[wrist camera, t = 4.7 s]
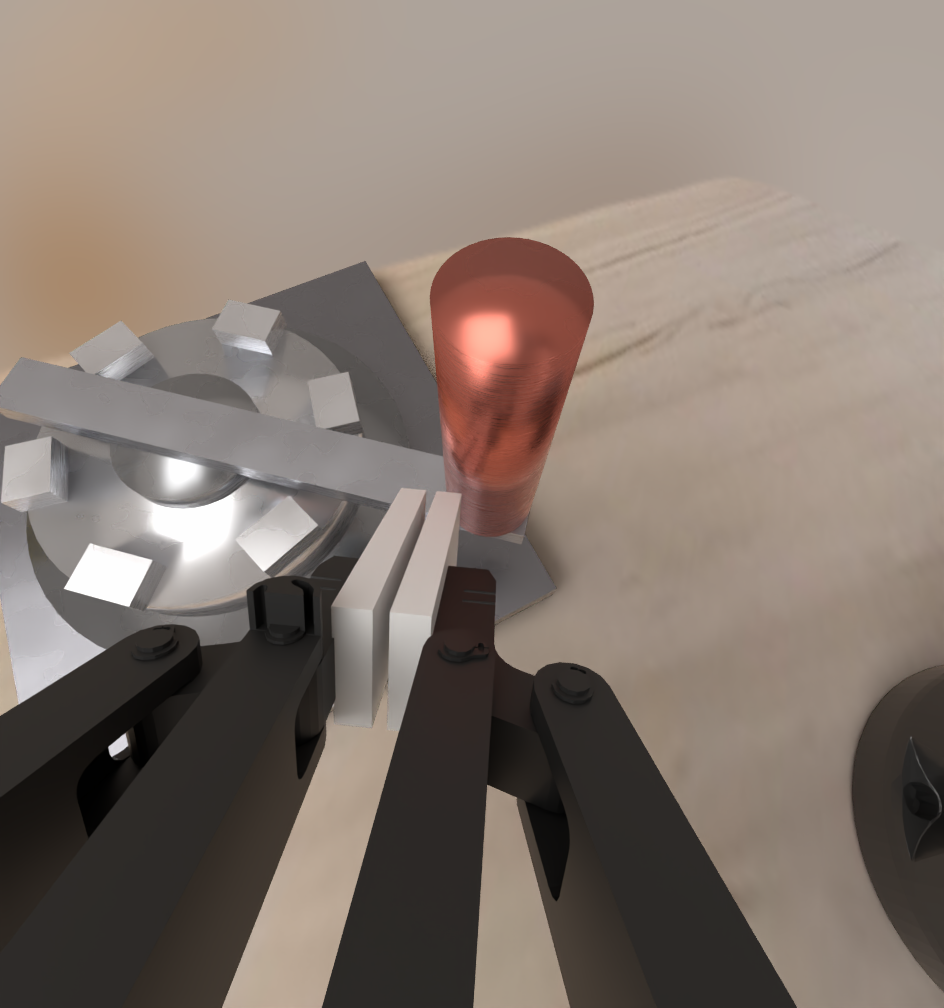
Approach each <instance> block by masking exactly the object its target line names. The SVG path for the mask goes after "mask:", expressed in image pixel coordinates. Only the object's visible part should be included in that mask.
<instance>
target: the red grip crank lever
mask: <svg viewBox="0 0 944 1008" xmlns="http://www.w3.org/2000/svg"><path fill="white" fill-rule="evenodd" d="M430 306H431V318H432V330H433V341H434V353H435V365H436V377H437V388H438V400H439V412H440V424H441V435H442V447H443V456H439V455H434V454H430V453H426V452H422V451H417V450H413V449H409V448H405V447H400V446H396V445H392V444H388V443H383V442H379V441H375V440H371V439H366V435H365V432H364V429H363V426H362V423H361V419H360V414H359V410H358V405H357V401H356V397H355V392H354V388H353V384H352V381H351V378H350V375H349V372H345V373H340V372H339V371H338V369H337V368H336V366H335V365H334V364H333V363H332V362H331V361H330V360H329V358H328V357H327V356H326V355H325V354H324V353H323V352H322V351H320V350H319V349H318V348H316V347H315V346H314V345H313V344H311V343H310V342H308V341H307V340H305V339H303V338H302V337H300V336H298V335H296V334H295V333H292V332H290V331H287V330H285V329H286V327H287V324H286V322H285V320H284V318H283V316H282V313H281V311H279V310H274V309H270V308H265V307H260V306H256V305H251V304H247V303H242V302H237V301H233V300H228V301H227V303H226V305H225V307H224V308H223V310H222V312H221V314H220V315H219V317H218V318H216V319H202V320H195V321H189V322H184V323H180V324H176V325H172V326H168V327H164V328H162V329H159V330H156V331H153V332H150V333H147V334H145V335H143V336H141V337H139V338H137V337H136V336H135V335H134V334H133V332H132V331H131V330H130V329H129V328H128V327H127V326H126V325H125V324H124V323H123V322H122V321H120V322H118V323H116V324H115V325H113V326H112V327H110V328H108V329H107V330H106V331H104V332H102V333H100V334H99V335H97V336H96V337H94V338H92V339H91V340H89V341H88V342H86V343H84V344H83V345H81V346H80V347H78V348H76V349H75V350H73V351H72V352H70V353H69V354H70V355H71V356H72V357H73V358H74V359H75V361H76V362H77V363H78V364H79V365H80V366H81V367H82V368H83V369H84V371H85V372H82V371H78V370H74V369H69V368H65V367H61V366H57V365H52V364H48V363H44V362H40V361H35V360H31V359H27V358H23V357H21V358H20V359H19V361H18V362H17V363H16V365H15V366H14V367H13V369H12V370H11V371H10V373H9V374H8V376H7V377H6V378H5V380H4V381H3V382H2V384H1V385H0V413H1V414H3V415H4V416H6V417H7V418H11V419H15V420H19V421H23V422H27V423H31V424H35V425H39V426H42V427H41V429H40V432H39V434H38V436H37V439H36V440H31V441H27V442H22V443H18V444H13V445H8V446H5V454H4V468H3V482H2V496H1V503H3V504H5V505H7V506H9V507H11V508H14V509H16V510H18V511H20V512H24V511H28V515H29V520H30V523H31V526H32V528H33V531H34V534H35V536H36V539H37V541H38V542H39V544H40V545H41V547H42V549H43V550H44V552H45V554H46V555H47V557H48V558H49V559H50V560H51V561H52V562H53V563H54V564H55V566H56V567H57V568H58V569H59V570H60V571H61V572H63V573H64V574H65V575H66V576H68V577H69V578H70V579H69V581H68V583H67V584H66V586H65V588H64V589H67V590H70V591H73V592H76V593H80V594H83V595H87V596H90V597H94V598H97V599H101V600H105V601H108V602H112V603H116V604H119V605H123V606H126V607H130V608H134V609H137V610H141V611H145V610H146V611H150V612H154V613H159V614H164V615H169V616H181V617H201V616H214V615H219V614H224V613H229V612H234V611H238V610H241V609H244V608H247V607H248V605H247V594H246V590H247V589H249V588H250V587H251V586H253V585H254V584H255V583H258V582H260V581H263V580H265V579H268V578H273V577H278V576H301V577H305V576H306V575H308V574H309V573H310V572H312V571H313V570H314V569H315V568H316V567H317V566H318V565H319V564H320V563H321V562H322V561H323V560H324V559H325V558H326V557H327V556H328V555H329V554H330V553H331V552H332V550H333V549H334V548H335V547H336V545H337V544H338V543H339V542H340V540H341V539H342V538H343V536H344V534H345V533H346V531H347V529H348V528H349V526H350V525H351V523H352V521H353V519H354V517H355V515H356V512H357V510H358V508H359V506H360V505H363V506H367V507H371V508H375V509H379V510H383V511H388V509H389V508H390V506H391V504H392V503H393V501H394V499H395V498H396V496H397V494H398V493H399V491H400V489H401V488H408V489H419V490H426V508H425V520H426V517H427V515H428V512H429V509H430V507H431V504H432V502H433V499H434V497H435V494H436V491H441V492H451V493H462V497H461V511H460V524H459V529H460V530H464V531H468V532H470V533H472V534H475V535H478V536H483V537H492V538H497V539H501V540H505V541H509V542H513V543H517V544H522V541H523V538H524V534H525V530H526V526H527V521H528V517H529V513H530V508H531V505H532V502H533V499H534V496H535V492H536V489H537V486H538V483H539V480H540V477H541V474H542V471H543V468H544V464H545V461H546V458H547V455H548V452H549V449H550V446H551V443H552V439H553V436H554V433H555V430H556V427H557V424H558V421H559V418H560V414H561V411H562V408H563V405H564V402H565V399H566V396H567V393H568V390H569V386H570V383H571V380H572V377H573V374H574V371H575V368H576V365H577V361H578V358H579V355H580V352H581V349H582V346H583V343H584V340H585V337H586V333H587V330H588V327H589V324H590V321H591V318H592V314H593V307H594V300H593V293H592V289H591V286H590V284H589V281H588V279H587V277H586V276H585V274H584V273H583V271H582V270H581V269H580V267H579V266H578V265H577V264H576V263H575V262H574V261H573V260H572V259H570V258H569V257H568V256H566V255H565V254H564V253H562V252H560V251H559V250H557V249H555V248H553V247H551V246H549V245H546V244H543V243H541V242H537V241H533V240H529V239H523V238H511V237H507V238H494V239H488V240H484V241H480V242H477V243H474V244H471V245H469V246H467V247H465V248H463V249H461V250H460V251H458V252H456V253H455V254H454V255H452V256H451V257H450V258H449V259H448V260H447V261H446V262H445V263H444V264H443V265H442V266H441V268H440V269H439V271H438V272H437V274H436V276H435V278H434V280H433V283H432V286H431V292H430Z"/></svg>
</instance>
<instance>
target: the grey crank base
mask: <svg viewBox="0 0 944 1008" xmlns="http://www.w3.org/2000/svg"><path fill="white" fill-rule="evenodd" d="M247 304H251V305H256V306H260V307H265V308H270V309H274V310H279V311H281V313H282V316H283V318H284V320H285V322H286V324H287V327H286V329H285V330H287V331H290V332H292V333H295V334H296V335H298V336H300V337H302V338H303V339H305V340H307V341H308V342H310V343H311V344H313V345H314V346H315V347H316V348H318V349H319V350H320V351H322V352H323V353H324V354H325V355H326V356H327V357H328V358H329V360H330V361H331V362H332V363H333V364H334V365H335V366H336V368H337V369H338V371H339V372H340V373H345V372H349V375H350V378H351V381H352V384H353V388H354V392H355V397H356V401H357V405H358V410H359V414H360V419H361V423H362V426H363V429H364V432H365V435H366V439H371V440H375V441H379V442H383V443H388V444H392V445H396V446H400V447H405V448H409V449H413V450H417V451H422V452H426V453H430V454H434V455H439V456H443V447H442V435H441V424H440V412H439V400H438V388H437V383H436V381H435V379H434V378H433V376H432V374H431V373H430V371H429V369H428V367H427V366H426V364H425V362H424V361H423V359H422V357H421V355H420V354H419V352H418V350H417V349H416V347H415V345H414V343H413V342H412V340H411V338H410V337H409V335H408V333H407V332H406V330H405V328H404V326H403V325H402V323H401V321H400V320H399V318H398V316H397V314H396V313H395V311H394V309H393V308H392V306H391V304H390V302H389V301H388V299H387V297H386V296H385V294H384V292H383V291H382V289H381V287H380V285H379V284H378V282H377V280H376V279H375V277H374V275H373V273H372V272H371V270H370V268H369V267H368V265H367V263H366V261H364V262H361V263H359V264H356V265H353V266H350V267H347V268H345V269H342V270H339V271H336V272H334V273H331V274H328V275H325V276H322V277H320V278H317V279H314V280H311V281H308V282H306V283H303V284H300V285H297V286H295V287H292V288H289V289H286V290H283V291H281V292H278V293H275V294H272V295H270V296H267V297H264V298H261V299H258V300H256V301H253V302H250V303H247ZM220 314H221V313H220ZM220 314H217V315H214V316H211V317H208V318H206V319H216V318H218V317H219V315H220ZM69 369H74V370H78V371H82V372H85V371H84V369H83V368H82V367H81V366H80V365H79V364H78V365H75V366H72V367H69ZM41 427H42V426H39V425H35V424H31V423H27V422H23V421H19V420H15V419H11V418H7V417H6V416H4V415H3V414H1V413H0V599H1V605H2V611H3V616H4V622H5V628H6V634H7V640H8V645H9V651H10V657H11V663H12V668H13V674H14V680H15V686H16V691H17V697H18V703H19V704H20V703H22V702H23V701H25V700H27V699H28V698H30V697H31V696H33V695H35V694H36V693H38V692H39V691H41V690H43V689H44V688H46V687H47V686H49V685H51V684H52V683H54V682H55V681H57V680H59V679H60V678H62V677H63V676H65V675H66V674H68V673H70V672H71V671H73V670H74V669H76V668H78V667H79V666H81V665H82V664H84V663H86V662H87V661H89V660H90V659H92V658H94V657H95V656H97V655H98V654H100V653H102V652H103V651H105V650H106V649H108V648H110V647H111V646H113V645H114V644H116V643H117V642H119V641H121V640H122V639H124V638H125V637H128V636H130V635H132V634H134V633H136V632H138V631H140V630H143V629H147V628H150V627H153V626H157V625H165V624H176V625H185V626H188V627H190V628H192V629H194V630H196V632H197V634H198V636H199V639H200V646H206V645H216V644H226V643H233V642H239V641H241V640H242V639H243V638H244V636H245V635H246V634H247V632H248V631H249V630H250V626H249V615H248V607H247V608H244V609H241V610H238V611H234V612H229V613H224V614H219V615H214V616H201V617H181V616H169V615H164V614H159V613H154V612H150V611H146V610H145V611H141V610H137V609H134V608H130V607H126V606H123V605H119V604H116V603H112V602H108V601H105V600H101V599H97V598H94V597H90V596H87V595H83V594H80V593H76V592H73V591H70V590H67V589H64V588H65V586H66V584H67V583H68V581H69V579H70V578H69V577H68V576H66V575H65V574H64V573H63V572H61V571H60V570H59V569H58V568H57V567H56V566H55V564H54V563H53V562H52V561H51V560H50V559H49V558H48V557H47V555H46V554H45V552H44V550H43V549H42V547H41V545H40V544H39V542H38V541H37V539H36V536H35V534H34V531H33V528H32V526H31V523H30V520H29V515H28V511H24V512H20V511H18V510H16V509H14V508H11V507H9V506H7V505H5V504H3V503H1V496H2V482H3V468H4V454H5V446H8V445H13V444H18V443H22V442H27V441H31V440H36V439H37V436H38V434H39V432H40V429H41ZM386 513H387V511H383V510H379V509H375V508H371V507H367V506H363V505H360V506H359V508H358V510H357V512H356V515H355V517H354V519H353V521H352V523H351V525H350V526H349V528H348V529H347V531H346V533H345V534H344V536H343V538H342V539H341V540H340V542H339V543H338V544H337V545H336V547H335V548H334V549H333V550H332V552H331V553H330V554H329V555H328V556H327V557H326V558H325V559H324V560H323V561H322V562H321V563H323V562H324V561H326V560H328V559H330V558H331V557H333V556H341V557H351V558H360V557H361V555H362V553H363V552H364V550H365V548H366V546H367V545H368V543H369V541H370V540H371V538H372V536H373V535H374V533H375V531H376V530H377V528H378V526H379V525H380V523H381V521H382V519H383V518H384V516H385V514H386ZM321 563H320V564H321ZM456 566H458V567H468V568H478V569H488V570H489V571H490V573H491V574H492V575H493V577H494V578H495V580H496V603H495V625H496V624H498V623H500V622H502V621H504V620H505V619H507V618H509V617H511V616H513V615H515V614H517V613H519V612H521V611H522V610H524V609H526V608H528V607H530V606H532V605H534V604H536V603H538V602H539V601H541V600H543V599H545V598H547V597H549V596H551V595H552V594H553V593H554V591H555V590H556V589H557V588H556V586H555V585H554V583H553V581H552V579H551V578H550V576H549V574H548V573H547V571H546V569H545V567H544V566H543V564H542V562H541V561H540V559H539V557H538V555H537V554H536V552H535V550H534V549H533V547H532V545H531V543H530V542H529V540H528V538H527V537H526V535H525V534H524V538H523V541H522V544H517V543H513V542H509V541H505V540H501V539H497V538H492V537H483V536H478V535H475V534H472V533H470V532H468V531H464V530H460V529H459V538H458V551H457V565H456ZM316 568H317V567H316ZM316 568H315V569H316ZM315 569H314V570H313V571H312V572H310V573H309V574H308V575H306V576H305V578H310V577H311V575H312V573H313V572H314V571H315ZM387 682H388V679H387ZM333 710H334V704H333V706H332V708H331V711H333ZM331 711H330V712H331ZM127 746H128V743H127V738H126V733H125V734H124V735H122V736H121V737H120V738H119V739H117V740H116V741H115V742H114V743H113V744H111V745H110V746H109V747H108V748H109V752H110V755H111V757H112V756H114V755H116V754H118V753H119V752H121V751H122V750H124V749H125V748H126V747H127Z"/></svg>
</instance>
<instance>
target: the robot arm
mask: <svg viewBox="0 0 944 1008" xmlns="http://www.w3.org/2000/svg"><path fill="white" fill-rule="evenodd" d="M461 497H462V493H451V492H441V491H436V494H435V497H434V499H433V502H432V504H431V507H430V509H429V512H428V515H427V517H426V520H425V508H426V490H419V489H408V488H401V489H400V491H399V493H398V494H397V496H396V498H395V499H394V501H393V503H392V504H391V506H390V508H389V509H388V511H387V513H386V514H385V516H384V518H383V519H382V521H381V523H380V525H379V526H378V528H377V530H376V531H375V533H374V535H373V536H372V538H371V540H370V541H369V543H368V545H367V546H366V548H365V550H364V552H363V553H362V555H361V557H360V558H351V557H341V556H333V557H331V558H330V559H328V560H326V561H324V562H323V563H321V564H319V565H318V566H317V568H316V569H315V571H314V572H313V573H312V575H311V577H310V578H305V577H301V576H278V577H273V578H268V579H265V580H263V581H260V582H258V583H255V584H254V585H253V586H251V587H250V588H249V589H247V590H246V594H247V605H248V615H249V626H250V630H249V631H248V632H247V634H246V635H245V636H244V638H243V639H242V640H241V641H239V642H233V643H226V644H216V645H206V646H200V639H199V636H198V634H197V632H196V630H194V629H192V628H190V627H188V626H185V625H176V624H165V625H157V626H153V627H150V628H147V629H143V630H140V631H138V632H136V633H134V634H132V635H130V636H128V637H125V638H124V639H122V640H121V641H119V642H117V643H116V644H114V645H113V646H111V647H110V648H108V649H106V650H105V651H103V652H102V653H100V654H98V655H97V656H95V657H94V658H92V659H90V660H89V661H87V662H86V663H84V664H82V665H81V666H79V667H78V668H76V669H74V670H73V671H71V672H70V673H68V674H66V675H65V676H63V677H62V678H60V679H59V680H57V681H55V682H54V683H52V684H51V685H49V686H47V687H46V688H44V689H43V690H41V691H39V692H38V693H36V694H35V695H33V696H31V697H30V698H28V699H27V700H25V701H23V702H22V703H20V704H19V705H17V706H16V707H14V708H12V709H11V710H9V711H8V712H6V713H4V714H3V715H1V716H0V1008H222V1006H223V1003H224V1001H225V998H226V996H227V993H228V991H229V988H230V986H231V983H232V980H233V978H234V975H235V973H236V970H237V968H238V965H239V963H240V960H241V958H242V955H243V953H244V950H245V947H246V945H247V942H248V940H249V937H250V935H251V932H252V930H253V927H254V925H255V922H256V919H257V917H258V914H259V912H260V909H261V907H262V904H263V902H264V899H265V897H266V894H267V891H268V889H269V886H270V884H271V881H272V879H273V876H274V874H275V871H276V869H277V866H278V863H279V861H280V858H281V856H282V853H283V851H284V848H285V846H286V843H287V841H288V838H289V836H290V833H291V830H292V828H293V825H294V823H295V820H296V818H297V815H298V813H299V810H300V808H301V805H302V802H303V800H304V797H305V795H306V792H307V790H308V787H309V785H310V782H311V780H312V777H313V774H314V772H315V769H316V767H317V764H318V762H319V759H320V757H321V754H322V752H323V749H324V746H325V741H326V720H327V717H328V715H329V713H330V711H331V708H332V706H333V704H334V724H339V725H348V726H357V727H366V728H372V726H373V723H374V720H375V717H376V714H377V710H378V707H379V704H380V701H381V698H382V695H383V692H384V689H385V686H386V683H387V679H388V713H387V730H394V731H399V734H398V737H397V741H396V745H395V748H394V752H393V755H392V759H391V762H390V766H389V770H388V773H387V777H386V780H385V784H384V788H383V791H382V795H381V798H380V802H379V805H378V809H377V813H376V816H375V820H374V823H373V827H372V830H371V834H370V838H369V841H368V845H367V848H366V852H365V855H364V859H363V863H362V866H361V870H360V873H359V877H358V881H357V884H356V888H355V891H354V895H353V898H352V902H351V906H350V909H349V913H348V916H347V920H346V923H345V927H344V931H343V934H342V938H341V941H340V945H339V948H338V952H337V956H336V959H335V963H334V966H333V970H332V974H331V977H330V981H329V984H328V988H327V991H326V995H325V999H324V1002H323V1006H322V1008H473V1002H474V986H475V970H476V954H477V938H478V922H479V906H480V890H481V874H482V858H483V842H484V826H485V810H486V794H487V785H490V786H492V787H494V788H496V789H499V790H501V791H503V792H506V793H508V794H510V795H513V796H515V797H517V806H518V810H519V814H520V817H521V821H522V825H523V829H524V833H525V836H526V840H527V844H528V848H529V852H530V856H531V859H532V863H533V867H534V871H535V875H536V878H537V882H538V886H539V890H540V894H541V897H542V901H543V905H544V909H545V913H546V916H547V920H548V924H549V928H550V932H551V936H552V939H553V943H554V947H555V951H556V955H557V958H558V962H559V966H560V970H561V974H562V977H563V981H564V985H565V989H566V993H567V996H568V1000H569V1004H570V1008H797V1007H796V1005H795V1003H794V1001H793V1000H792V998H791V996H790V995H789V993H788V991H787V989H786V988H785V986H784V984H783V983H782V981H781V979H780V977H779V976H778V974H777V972H776V971H775V969H774V967H773V965H772V964H771V962H770V960H769V959H768V957H767V955H766V953H765V952H764V950H763V948H762V947H761V945H760V943H759V941H758V940H757V938H756V936H755V935H754V933H753V931H752V929H751V928H750V926H749V924H748V923H747V921H746V919H745V917H744V916H743V914H742V912H741V911H740V909H739V907H738V905H737V904H736V902H735V900H734V899H733V897H732V895H731V893H730V892H729V890H728V888H727V887H726V885H725V883H724V881H723V880H722V878H721V876H720V875H719V873H718V871H717V869H716V868H715V866H714V864H713V863H712V861H711V859H710V857H709V856H708V854H707V852H706V851H705V849H704V847H703V845H702V844H701V842H700V840H699V839H698V837H697V835H696V833H695V832H694V830H693V828H692V827H691V825H690V823H689V821H688V820H687V818H686V816H685V815H684V813H683V811H682V809H681V808H680V806H679V804H678V803H677V801H676V799H675V797H674V796H673V794H672V792H671V791H670V789H669V787H668V785H667V784H666V782H665V780H664V779H663V777H662V775H661V773H660V772H659V770H658V768H657V767H656V765H655V763H654V761H653V760H652V758H651V756H650V755H649V753H648V751H647V749H646V748H645V746H644V744H643V743H642V741H641V739H640V737H639V736H638V734H637V732H636V731H635V729H634V727H633V725H632V724H631V722H630V720H629V719H628V717H627V715H626V713H625V712H624V710H623V708H622V707H621V705H620V703H619V701H618V700H617V698H616V696H615V695H614V693H613V691H612V689H611V688H610V686H609V685H608V684H607V683H606V681H605V680H604V679H603V678H602V677H601V676H600V675H598V674H597V673H595V672H594V671H592V670H590V669H589V668H586V667H583V666H580V665H577V664H573V663H562V662H559V663H554V664H549V665H546V666H545V667H543V668H542V669H540V670H538V672H537V674H536V675H535V676H534V675H531V674H528V673H525V672H522V671H520V670H518V669H516V668H513V667H512V666H510V665H509V664H507V663H506V662H505V661H504V660H503V659H502V658H501V657H500V656H499V655H498V653H497V651H496V650H495V645H494V629H495V603H496V580H495V578H494V577H493V575H492V574H491V573H490V571H489V570H488V569H478V568H468V567H458V566H456V565H457V551H458V538H459V524H460V511H461ZM125 733H126V738H127V743H128V746H127V747H126V748H125V749H124V750H122V751H121V752H119V753H118V754H116V755H114V756H112V757H111V755H110V752H109V748H108V747H109V746H110V745H111V744H113V743H114V742H115V741H116V740H117V739H119V738H120V737H121V736H122V735H124V734H125ZM853 806H854V815H855V822H856V828H857V834H858V838H859V843H860V847H861V851H862V854H863V857H864V861H865V864H866V867H867V870H868V873H869V875H870V878H871V881H872V883H873V885H874V888H875V890H876V893H877V895H878V897H879V899H880V901H881V903H882V905H883V907H884V909H885V911H886V913H887V915H888V917H889V919H890V920H891V922H892V924H893V926H894V928H895V929H896V931H897V932H898V934H899V936H900V937H901V939H902V940H903V942H904V944H905V945H906V946H907V948H908V949H909V951H910V952H911V953H912V955H913V956H914V958H915V959H916V960H917V962H918V963H919V964H920V965H921V967H922V968H923V969H924V971H925V972H926V973H927V974H928V975H929V977H930V978H931V979H932V980H933V981H934V982H935V983H936V985H937V986H938V987H939V988H940V989H941V990H942V991H943V992H944V665H941V666H937V667H933V668H929V669H927V670H924V671H921V672H919V673H917V674H915V675H912V676H911V677H909V678H907V679H905V680H904V681H902V682H901V683H900V684H898V685H897V686H896V687H894V688H893V689H892V690H891V691H890V692H889V693H888V694H887V695H886V696H885V697H884V698H883V699H882V700H881V702H880V703H879V704H878V706H877V707H876V708H875V710H874V711H873V713H872V715H871V716H870V718H869V720H868V722H867V724H866V726H865V728H864V731H863V734H862V736H861V739H860V742H859V746H858V750H857V754H856V759H855V765H854V775H853Z"/></svg>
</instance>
